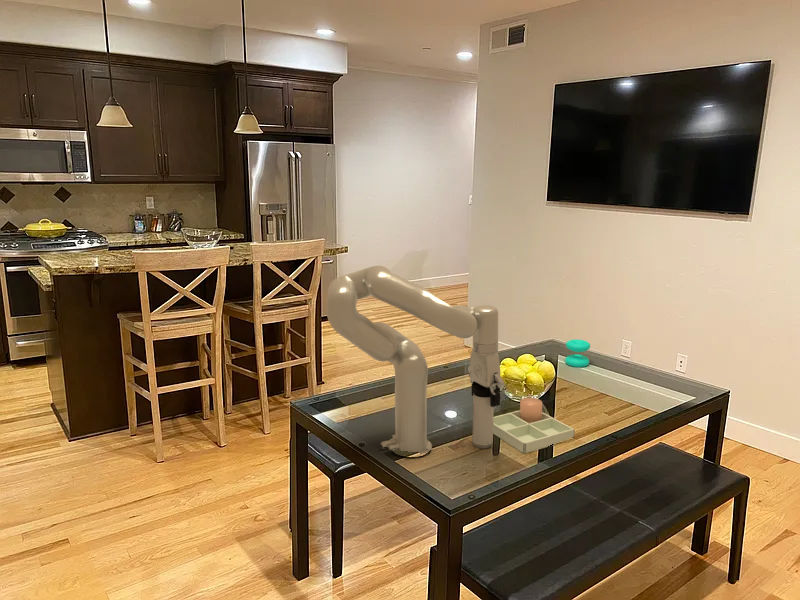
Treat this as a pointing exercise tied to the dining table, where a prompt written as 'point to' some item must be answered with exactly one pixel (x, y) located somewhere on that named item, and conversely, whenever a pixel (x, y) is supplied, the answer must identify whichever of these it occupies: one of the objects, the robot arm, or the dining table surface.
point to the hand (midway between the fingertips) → (485, 400)
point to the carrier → (530, 431)
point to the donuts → (577, 359)
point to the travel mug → (482, 417)
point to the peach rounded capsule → (531, 410)
